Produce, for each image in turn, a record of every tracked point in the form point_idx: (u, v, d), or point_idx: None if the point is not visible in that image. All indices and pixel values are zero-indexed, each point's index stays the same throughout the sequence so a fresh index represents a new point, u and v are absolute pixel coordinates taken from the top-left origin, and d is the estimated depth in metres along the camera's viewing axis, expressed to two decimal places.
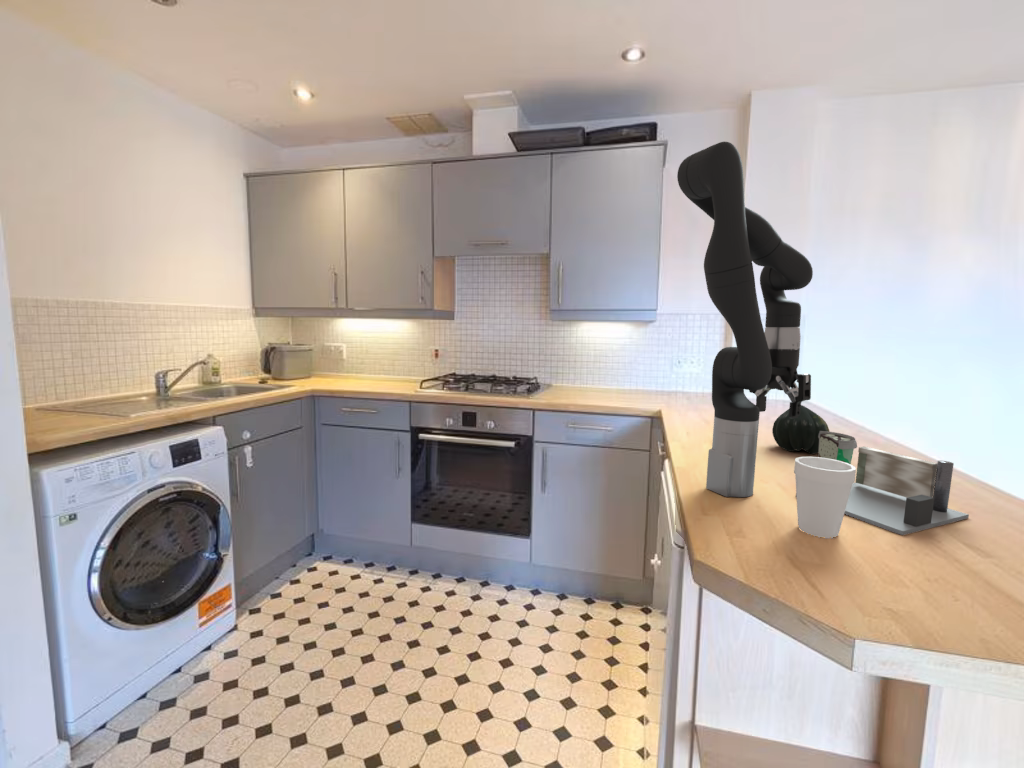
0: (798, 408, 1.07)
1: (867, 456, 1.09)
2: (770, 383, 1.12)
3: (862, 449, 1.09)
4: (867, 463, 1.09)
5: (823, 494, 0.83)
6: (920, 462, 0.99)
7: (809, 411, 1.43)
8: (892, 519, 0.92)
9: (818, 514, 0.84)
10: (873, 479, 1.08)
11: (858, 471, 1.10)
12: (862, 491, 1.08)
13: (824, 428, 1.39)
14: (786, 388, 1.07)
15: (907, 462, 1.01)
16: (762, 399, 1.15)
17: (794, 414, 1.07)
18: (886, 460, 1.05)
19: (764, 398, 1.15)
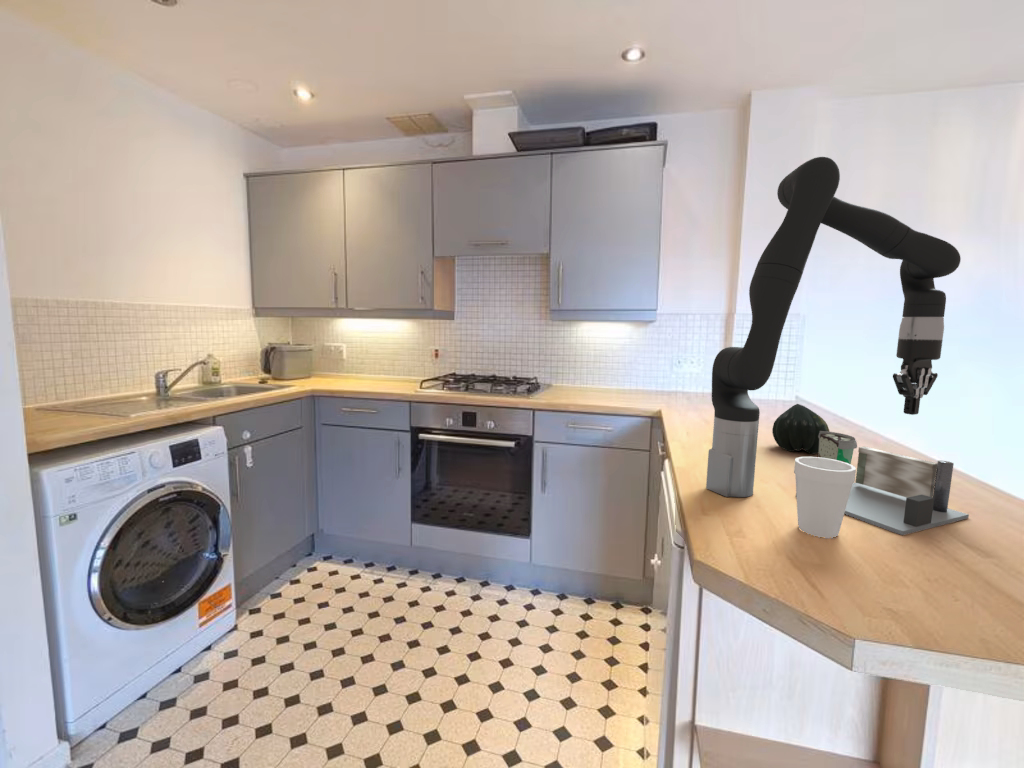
0: None
1: (867, 456, 1.09)
2: None
3: (862, 449, 1.09)
4: (867, 463, 1.09)
5: (823, 494, 0.83)
6: (920, 462, 0.99)
7: (809, 411, 1.43)
8: (892, 519, 0.92)
9: (818, 514, 0.84)
10: (873, 479, 1.08)
11: (858, 471, 1.10)
12: (862, 491, 1.08)
13: (824, 428, 1.39)
14: (927, 383, 1.05)
15: (907, 462, 1.01)
16: None
17: None
18: (886, 460, 1.05)
19: None
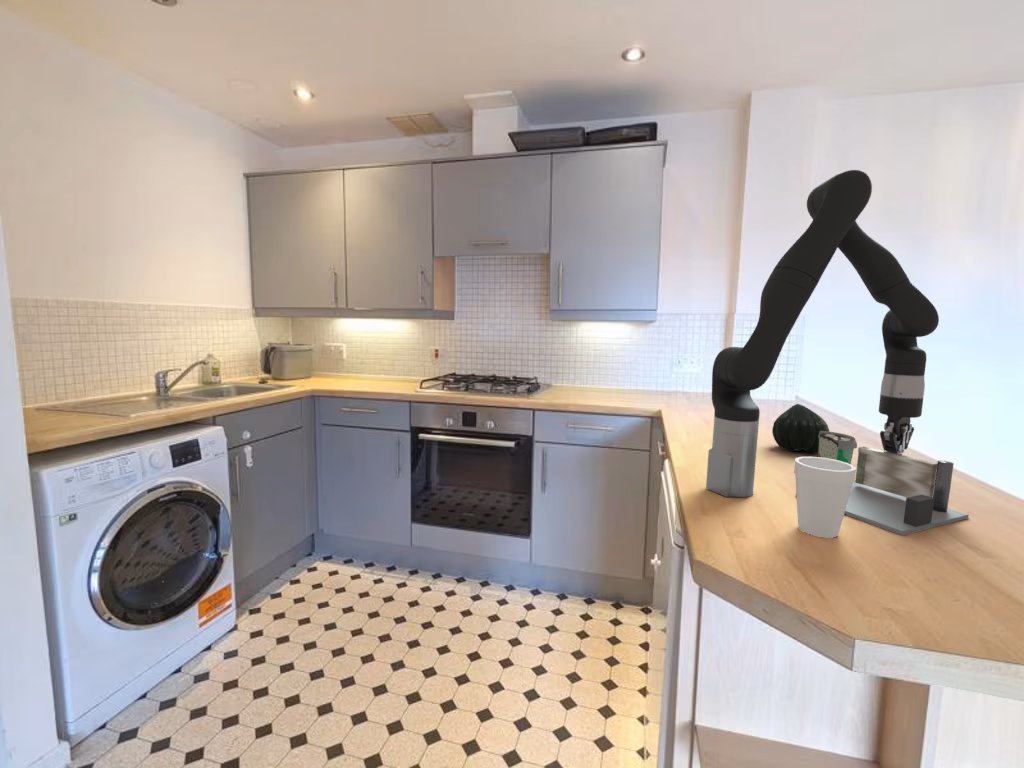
0: None
1: (867, 456, 1.09)
2: None
3: (862, 449, 1.09)
4: (867, 463, 1.09)
5: (823, 494, 0.83)
6: (920, 462, 0.99)
7: (809, 411, 1.43)
8: (892, 519, 0.92)
9: (818, 514, 0.84)
10: (872, 479, 1.08)
11: (858, 471, 1.10)
12: (862, 491, 1.08)
13: (824, 428, 1.39)
14: (908, 439, 1.06)
15: (907, 462, 1.01)
16: None
17: None
18: (886, 460, 1.05)
19: None
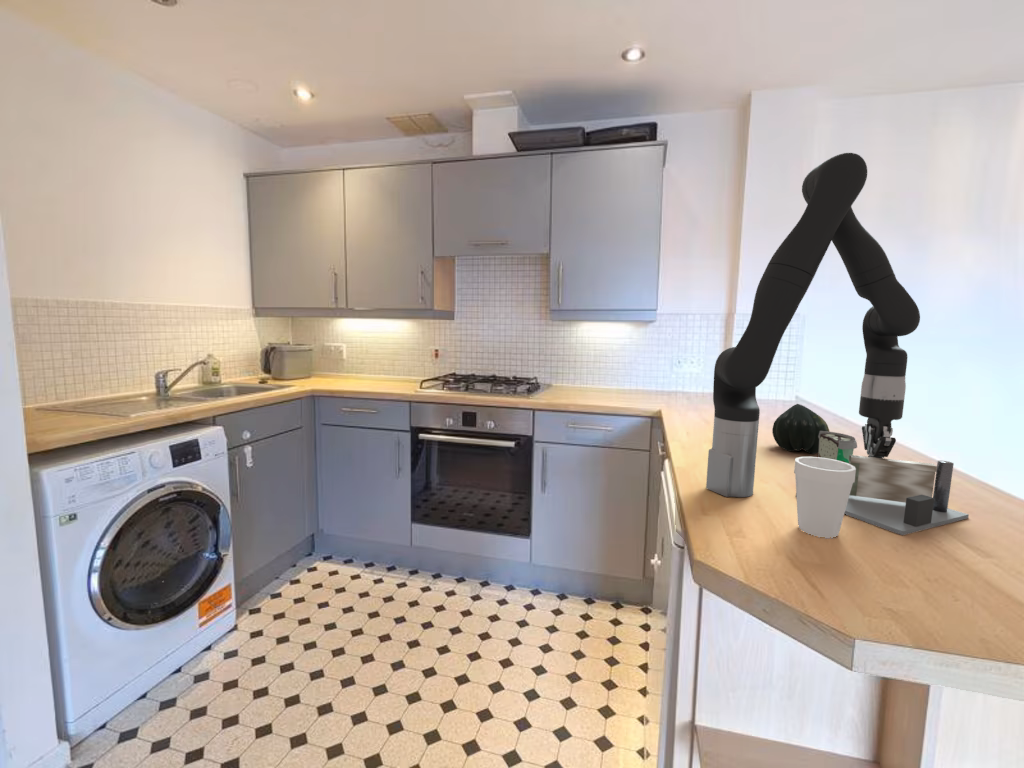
0: None
1: (860, 465, 1.01)
2: None
3: (856, 459, 1.01)
4: (860, 473, 1.01)
5: (823, 494, 0.83)
6: (923, 465, 0.96)
7: (809, 411, 1.43)
8: (892, 519, 0.92)
9: (818, 514, 0.84)
10: (867, 489, 1.01)
11: None
12: None
13: (824, 428, 1.39)
14: None
15: (909, 467, 0.97)
16: None
17: None
18: (883, 467, 0.99)
19: None
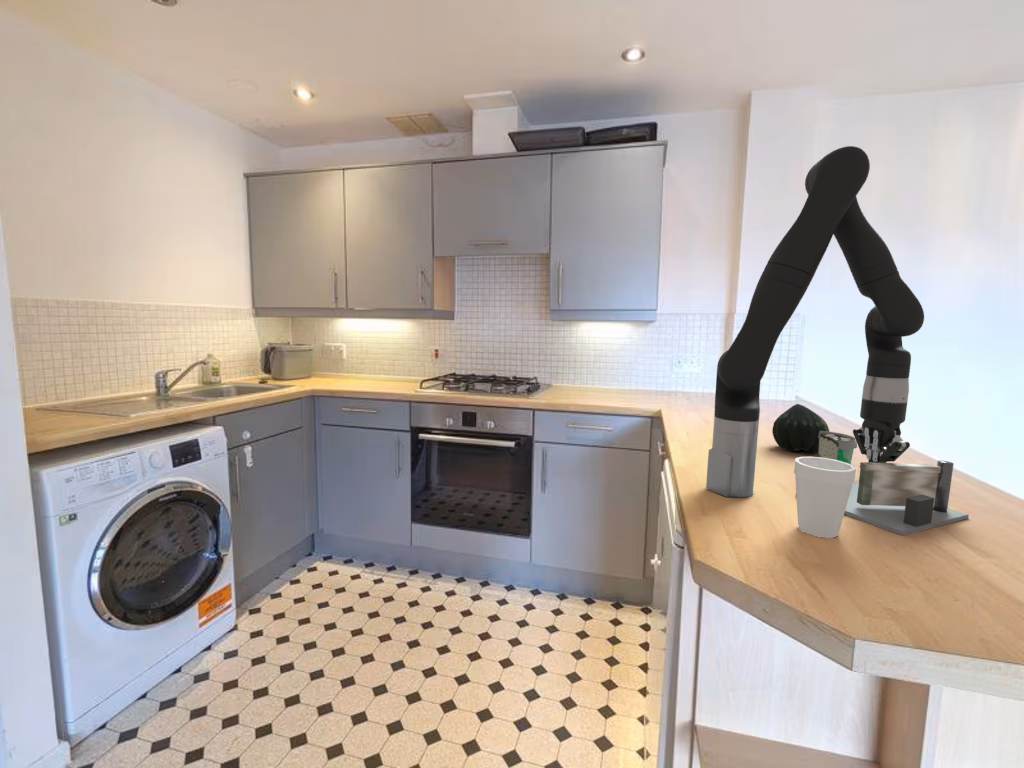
0: None
1: (873, 473, 0.96)
2: None
3: (870, 466, 0.96)
4: (874, 480, 0.96)
5: (823, 494, 0.83)
6: (929, 467, 0.95)
7: (809, 411, 1.43)
8: (892, 519, 0.92)
9: (818, 514, 0.84)
10: (879, 497, 0.97)
11: (865, 492, 0.96)
12: None
13: (824, 428, 1.39)
14: None
15: (917, 470, 0.95)
16: None
17: None
18: (894, 473, 0.96)
19: None
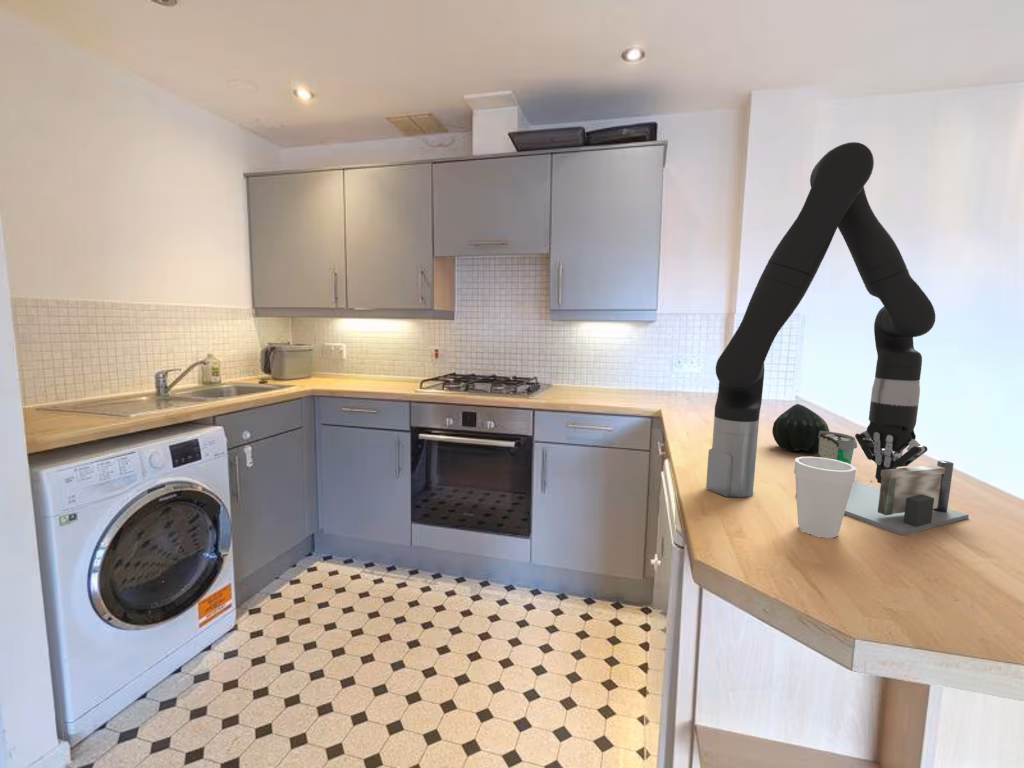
0: None
1: (895, 480, 0.91)
2: None
3: (894, 474, 0.91)
4: (895, 488, 0.92)
5: (823, 494, 0.83)
6: (937, 469, 0.94)
7: (809, 411, 1.43)
8: (892, 519, 0.92)
9: (818, 514, 0.84)
10: (899, 504, 0.93)
11: (889, 501, 0.91)
12: (862, 491, 1.08)
13: (824, 428, 1.39)
14: None
15: (928, 473, 0.93)
16: None
17: None
18: (910, 478, 0.92)
19: None
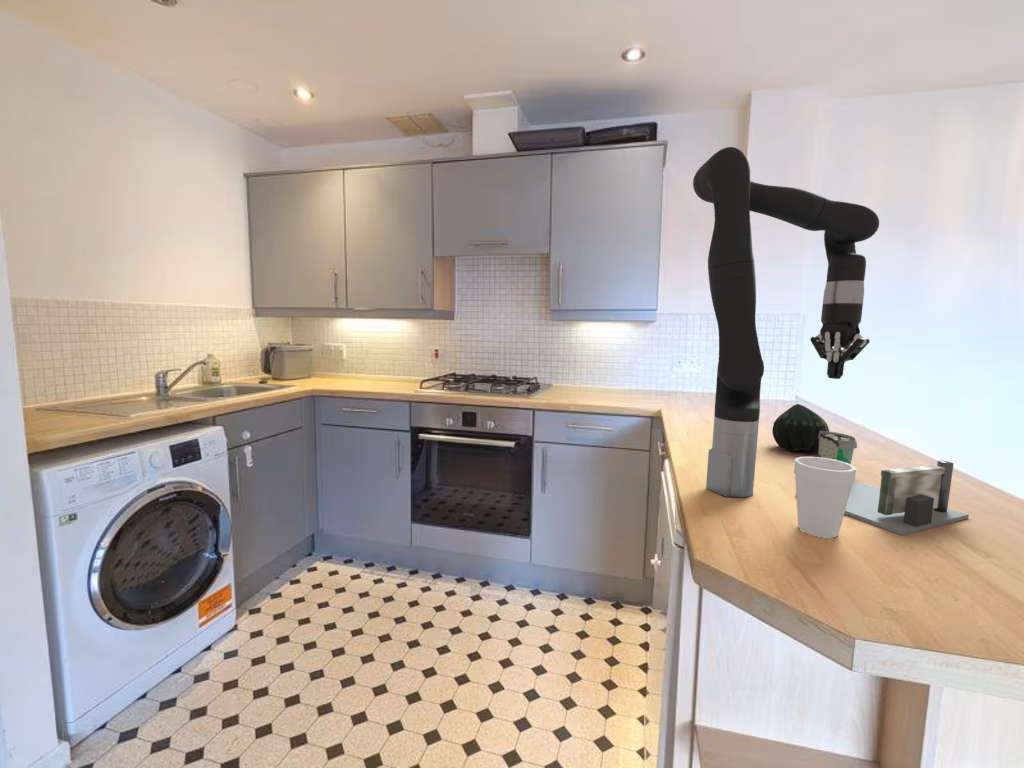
0: None
1: (895, 480, 0.91)
2: None
3: (894, 474, 0.91)
4: (895, 488, 0.92)
5: (823, 494, 0.83)
6: (937, 469, 0.94)
7: (809, 411, 1.43)
8: (892, 519, 0.92)
9: (818, 514, 0.84)
10: (899, 504, 0.93)
11: (889, 501, 0.91)
12: (862, 491, 1.08)
13: (824, 428, 1.39)
14: None
15: (928, 473, 0.93)
16: None
17: None
18: (910, 478, 0.92)
19: None
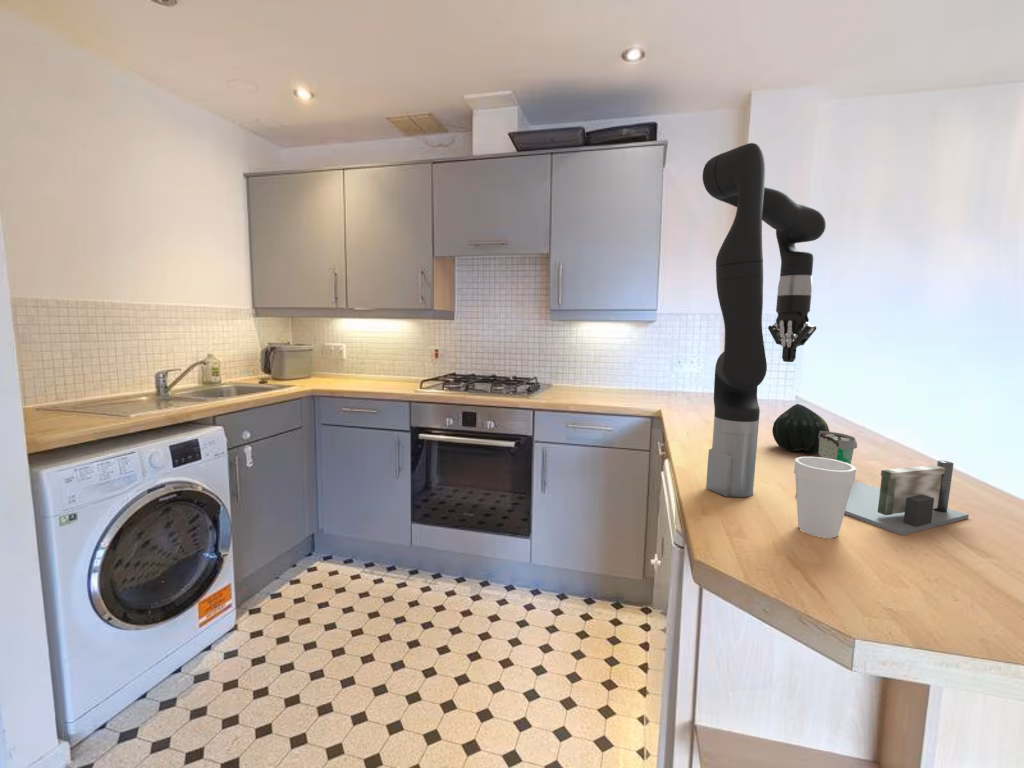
0: None
1: (895, 480, 0.91)
2: None
3: (894, 474, 0.91)
4: (895, 488, 0.92)
5: (823, 494, 0.83)
6: (937, 469, 0.94)
7: (809, 411, 1.43)
8: (892, 519, 0.92)
9: (818, 514, 0.84)
10: (899, 504, 0.93)
11: (889, 501, 0.91)
12: (862, 491, 1.08)
13: (824, 428, 1.39)
14: None
15: (928, 473, 0.93)
16: None
17: None
18: (910, 478, 0.92)
19: None
